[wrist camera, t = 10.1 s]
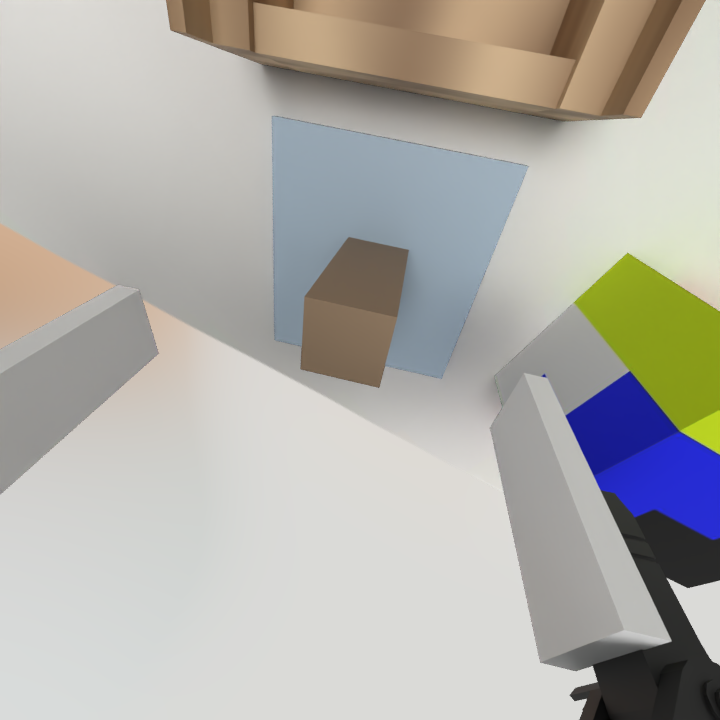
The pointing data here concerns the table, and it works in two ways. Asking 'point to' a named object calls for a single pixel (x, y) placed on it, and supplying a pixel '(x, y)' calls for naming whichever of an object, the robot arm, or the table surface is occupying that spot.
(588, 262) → the table surface
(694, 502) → the puzzle toy
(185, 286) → the table surface
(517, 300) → the table surface
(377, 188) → the cover plate
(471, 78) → the oak box
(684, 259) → the table surface
